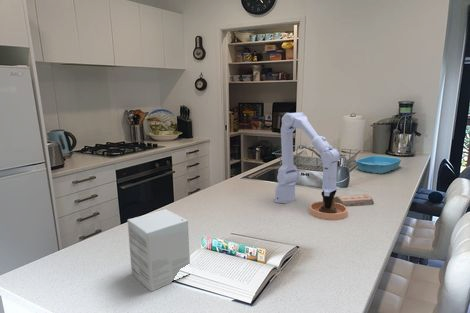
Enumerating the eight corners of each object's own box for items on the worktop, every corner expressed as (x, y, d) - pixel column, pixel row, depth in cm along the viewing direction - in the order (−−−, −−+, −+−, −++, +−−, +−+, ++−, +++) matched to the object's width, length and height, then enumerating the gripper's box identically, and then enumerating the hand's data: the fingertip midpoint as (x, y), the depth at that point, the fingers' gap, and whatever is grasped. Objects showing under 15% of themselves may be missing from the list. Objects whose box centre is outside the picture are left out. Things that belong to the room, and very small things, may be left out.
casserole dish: (373, 162, 243) (374, 153, 242) (405, 167, 227) (406, 157, 226) (349, 171, 219) (350, 161, 217) (382, 177, 203) (383, 166, 201)
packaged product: (366, 192, 158) (376, 198, 149) (365, 201, 159) (375, 208, 150) (330, 193, 157) (339, 200, 147) (330, 203, 158) (338, 210, 148)
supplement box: (169, 258, 106) (166, 208, 103) (191, 274, 97) (189, 219, 93) (130, 273, 98) (126, 219, 94) (150, 292, 88) (146, 233, 85)
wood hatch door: (322, 212, 141) (322, 197, 140) (322, 211, 143) (323, 196, 142) (333, 214, 139) (334, 199, 138) (334, 212, 142) (335, 197, 140)
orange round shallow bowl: (306, 218, 138) (306, 211, 137) (312, 206, 152) (313, 199, 151) (345, 224, 131) (345, 216, 131) (348, 211, 146) (348, 203, 145)
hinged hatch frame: (318, 213, 141) (318, 209, 140) (320, 209, 145) (320, 205, 145) (335, 215, 138) (336, 211, 138) (337, 212, 142) (337, 207, 142)
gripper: (337, 182, 130) (335, 214, 133) (341, 173, 143) (339, 202, 146) (319, 180, 133) (318, 211, 136) (324, 172, 146) (323, 201, 149)
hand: (328, 207), depth 141 cm, fingers closed on wood hatch door, 2 cm apart
